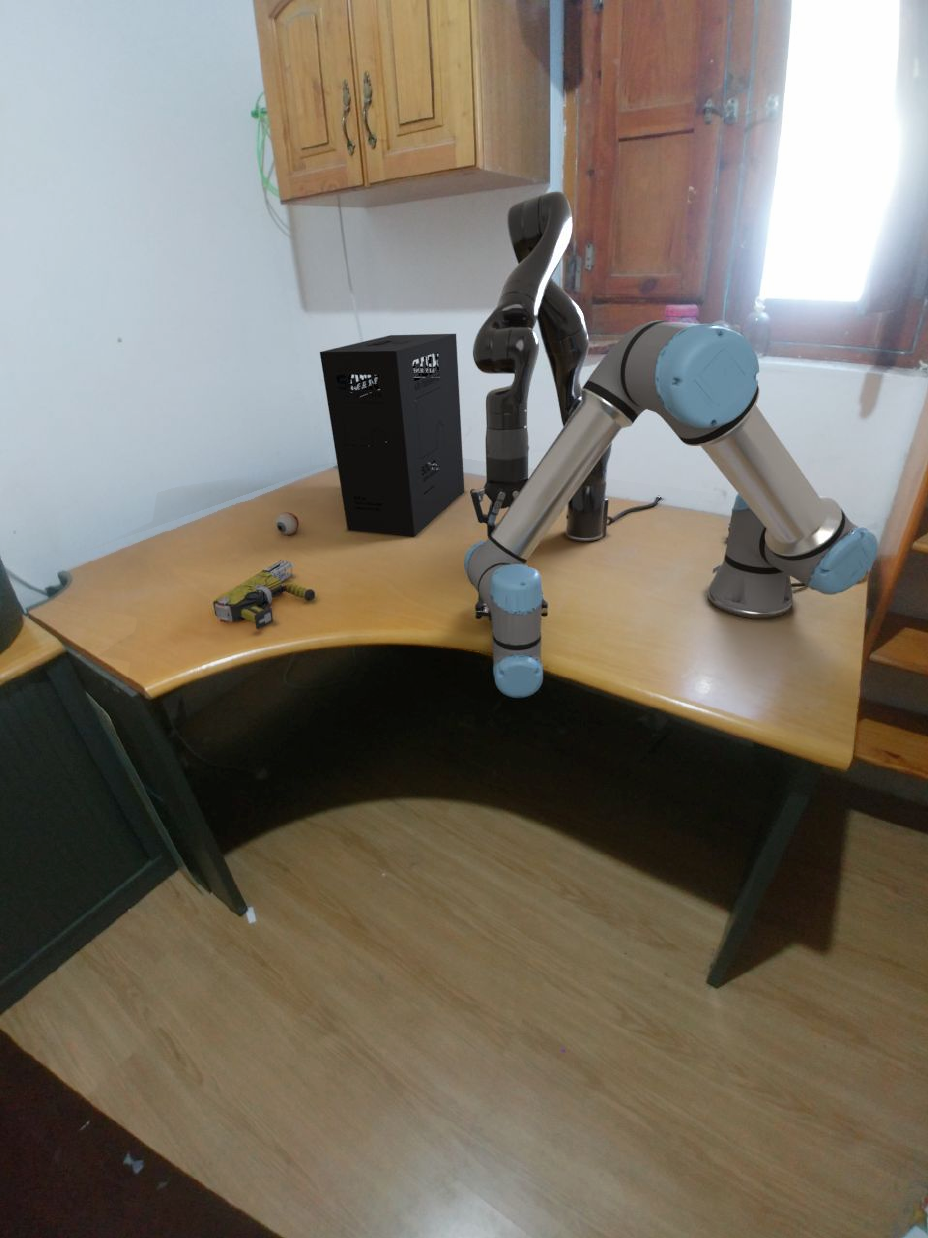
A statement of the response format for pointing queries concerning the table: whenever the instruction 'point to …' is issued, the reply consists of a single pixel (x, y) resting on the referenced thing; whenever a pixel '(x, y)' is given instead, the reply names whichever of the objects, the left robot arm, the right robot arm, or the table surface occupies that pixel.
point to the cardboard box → (396, 430)
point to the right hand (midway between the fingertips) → (507, 571)
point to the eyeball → (287, 523)
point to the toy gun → (258, 596)
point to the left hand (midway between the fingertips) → (507, 540)
